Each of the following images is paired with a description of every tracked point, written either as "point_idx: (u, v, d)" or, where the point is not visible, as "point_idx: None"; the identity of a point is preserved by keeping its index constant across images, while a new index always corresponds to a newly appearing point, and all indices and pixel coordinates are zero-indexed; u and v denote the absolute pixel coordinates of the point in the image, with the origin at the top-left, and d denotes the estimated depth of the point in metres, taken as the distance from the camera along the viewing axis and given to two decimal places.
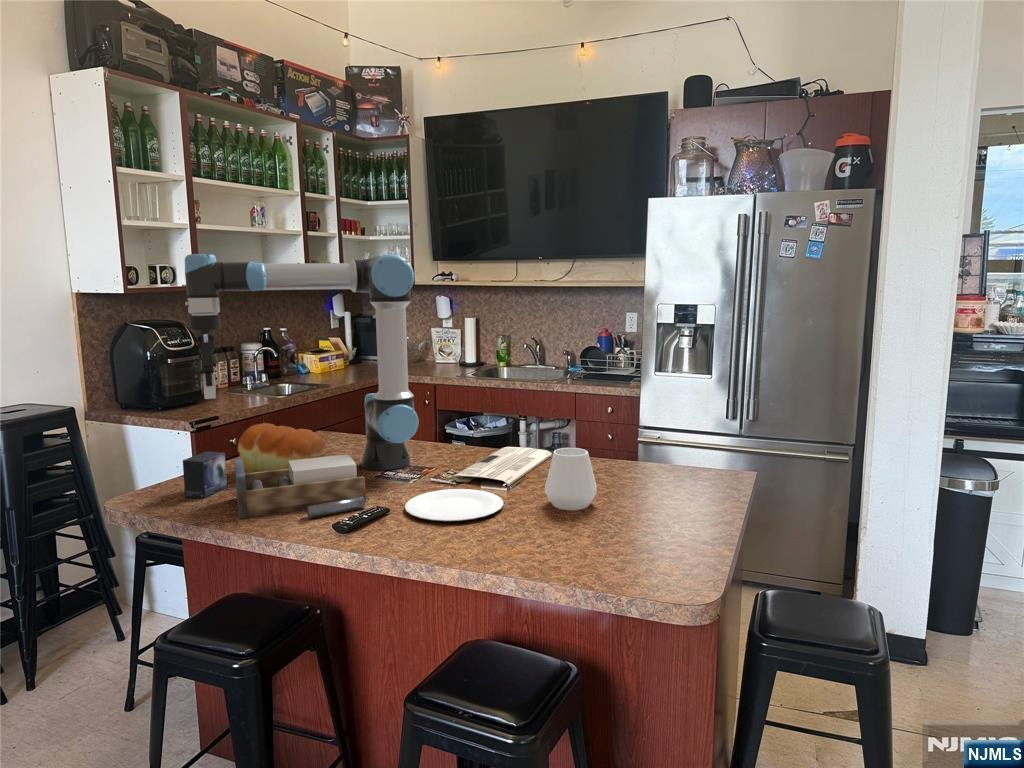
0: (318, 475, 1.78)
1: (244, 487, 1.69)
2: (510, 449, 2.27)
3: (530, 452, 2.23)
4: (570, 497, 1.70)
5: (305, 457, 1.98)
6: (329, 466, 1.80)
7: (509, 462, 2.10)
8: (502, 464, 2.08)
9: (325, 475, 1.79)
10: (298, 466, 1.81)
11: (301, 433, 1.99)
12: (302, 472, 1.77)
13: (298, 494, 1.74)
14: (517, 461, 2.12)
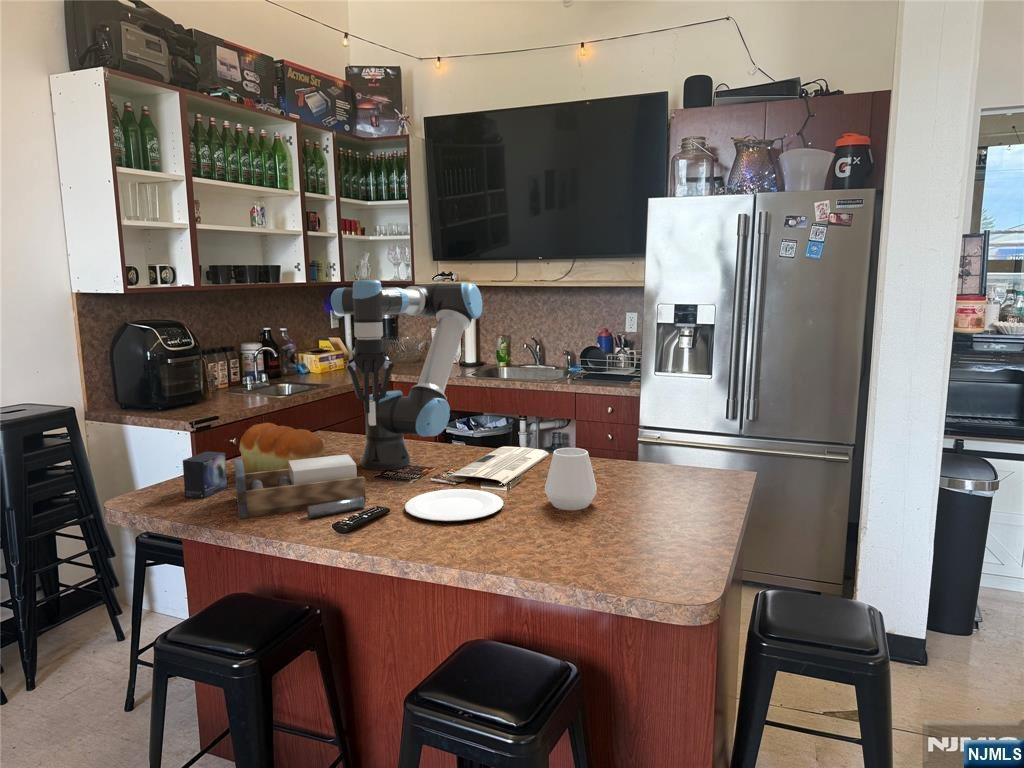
0: (318, 475, 1.78)
1: (244, 487, 1.69)
2: (507, 449, 2.28)
3: (527, 452, 2.23)
4: (570, 497, 1.70)
5: (303, 458, 1.97)
6: (329, 466, 1.80)
7: (505, 462, 2.11)
8: (498, 464, 2.08)
9: (325, 475, 1.79)
10: (298, 466, 1.81)
11: (299, 433, 1.98)
12: (302, 472, 1.77)
13: (298, 494, 1.74)
14: (513, 460, 2.13)
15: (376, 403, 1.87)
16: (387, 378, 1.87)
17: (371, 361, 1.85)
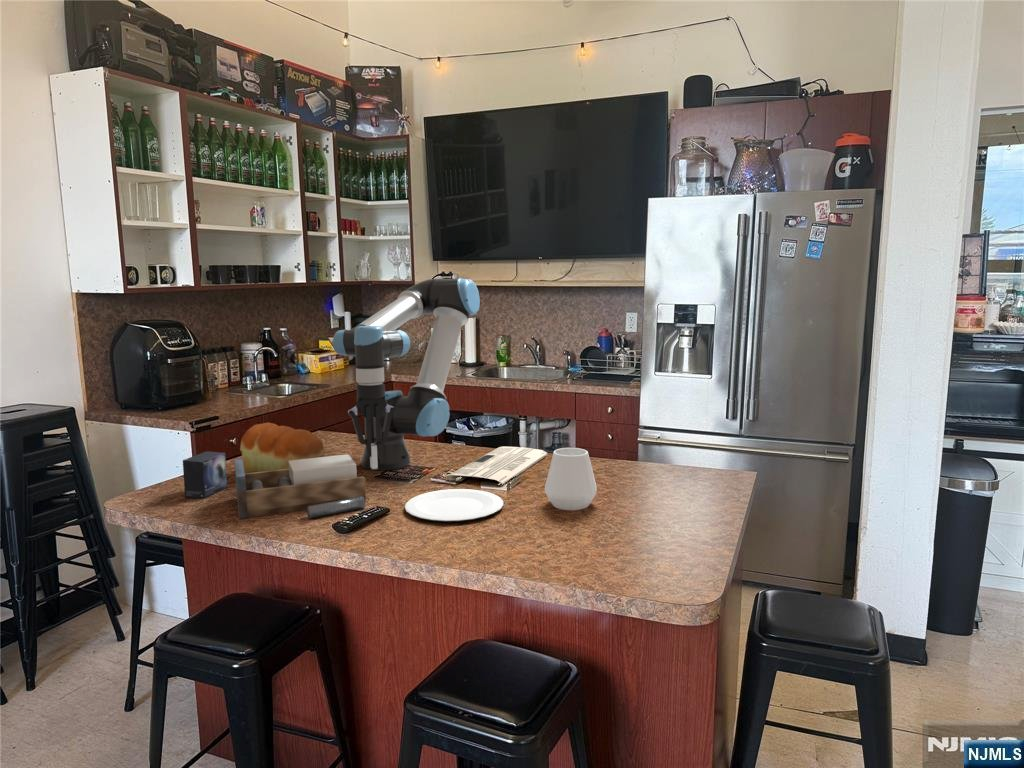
0: (318, 475, 1.78)
1: (244, 487, 1.69)
2: (506, 449, 2.28)
3: (525, 452, 2.23)
4: (570, 497, 1.70)
5: (301, 458, 1.97)
6: (329, 466, 1.80)
7: (504, 462, 2.11)
8: (497, 464, 2.09)
9: (325, 475, 1.79)
10: (298, 466, 1.81)
11: (298, 434, 1.98)
12: (302, 472, 1.77)
13: (298, 494, 1.74)
14: (512, 460, 2.13)
15: (378, 447, 1.89)
16: (389, 422, 1.89)
17: (373, 406, 1.87)
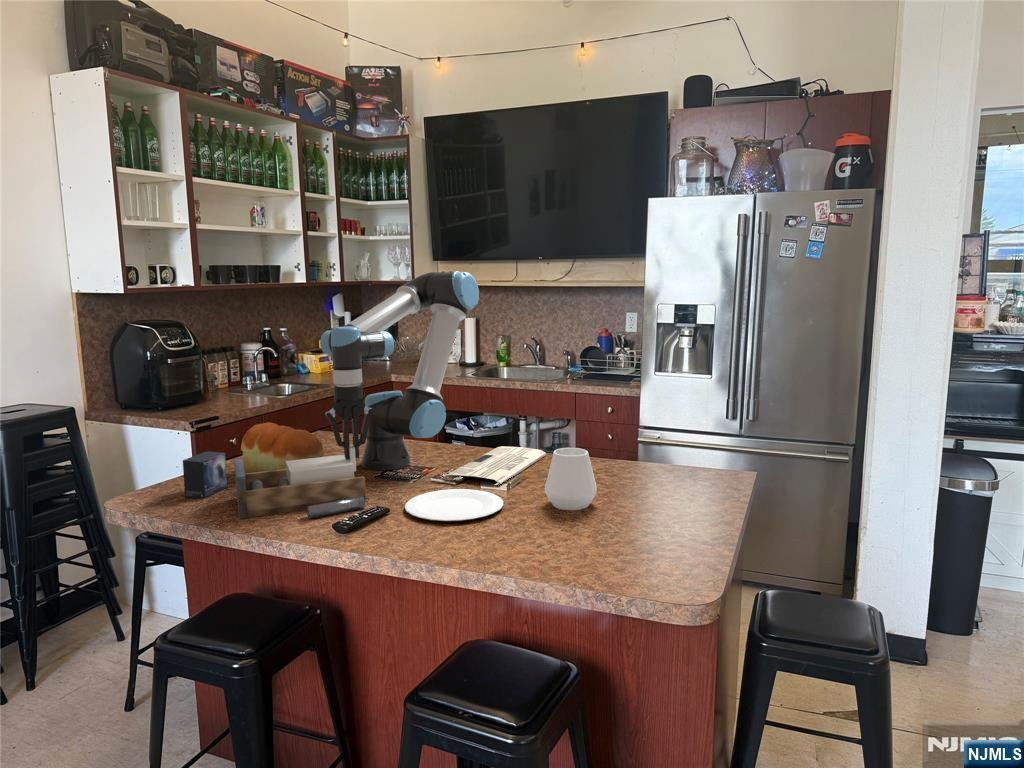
0: (315, 475, 1.78)
1: (244, 487, 1.69)
2: (504, 449, 2.28)
3: (524, 452, 2.24)
4: (570, 497, 1.70)
5: (300, 458, 1.97)
6: (326, 466, 1.80)
7: (502, 461, 2.11)
8: (495, 463, 2.09)
9: (322, 476, 1.79)
10: (295, 466, 1.80)
11: (297, 434, 1.98)
12: (299, 472, 1.76)
13: (298, 494, 1.74)
14: (510, 460, 2.13)
15: (356, 449, 1.87)
16: (367, 424, 1.87)
17: (351, 408, 1.84)
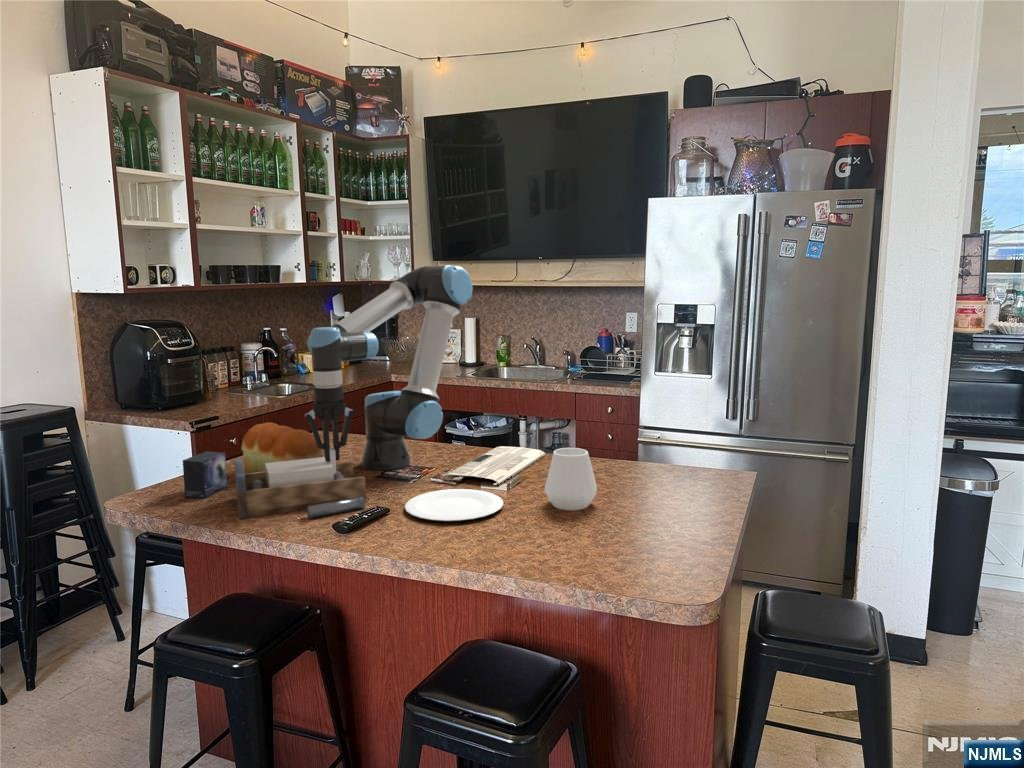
0: (294, 478, 1.76)
1: (244, 487, 1.69)
2: (503, 448, 2.28)
3: (523, 451, 2.24)
4: (570, 497, 1.70)
5: (299, 458, 1.97)
6: (306, 469, 1.78)
7: (501, 461, 2.11)
8: (494, 463, 2.09)
9: (302, 478, 1.77)
10: (274, 469, 1.78)
11: (296, 434, 1.98)
12: (278, 474, 1.74)
13: (298, 494, 1.74)
14: (509, 460, 2.13)
15: (336, 451, 1.85)
16: (347, 426, 1.85)
17: (331, 409, 1.82)
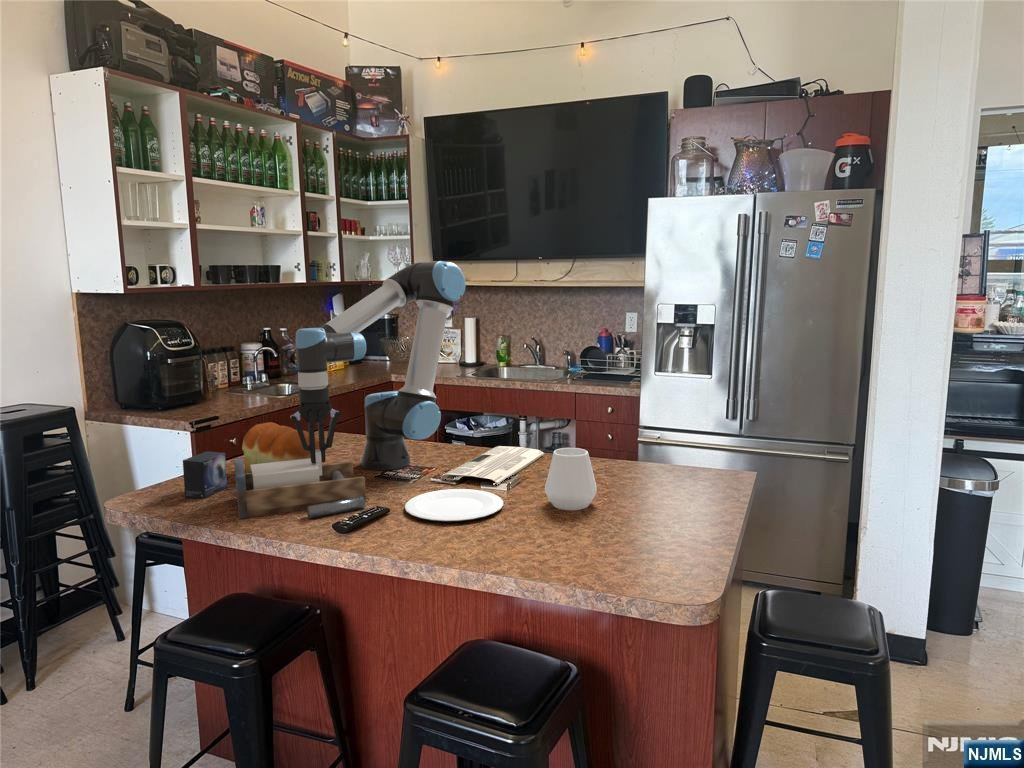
0: (279, 479, 1.75)
1: (244, 487, 1.69)
2: (502, 448, 2.28)
3: (522, 451, 2.24)
4: (570, 497, 1.70)
5: (299, 458, 1.97)
6: (291, 470, 1.76)
7: (500, 461, 2.11)
8: (493, 463, 2.09)
9: (286, 480, 1.75)
10: (259, 470, 1.77)
11: (296, 434, 1.97)
12: (262, 476, 1.73)
13: (298, 494, 1.74)
14: (508, 460, 2.13)
15: (322, 453, 1.83)
16: (333, 427, 1.83)
17: (316, 411, 1.81)
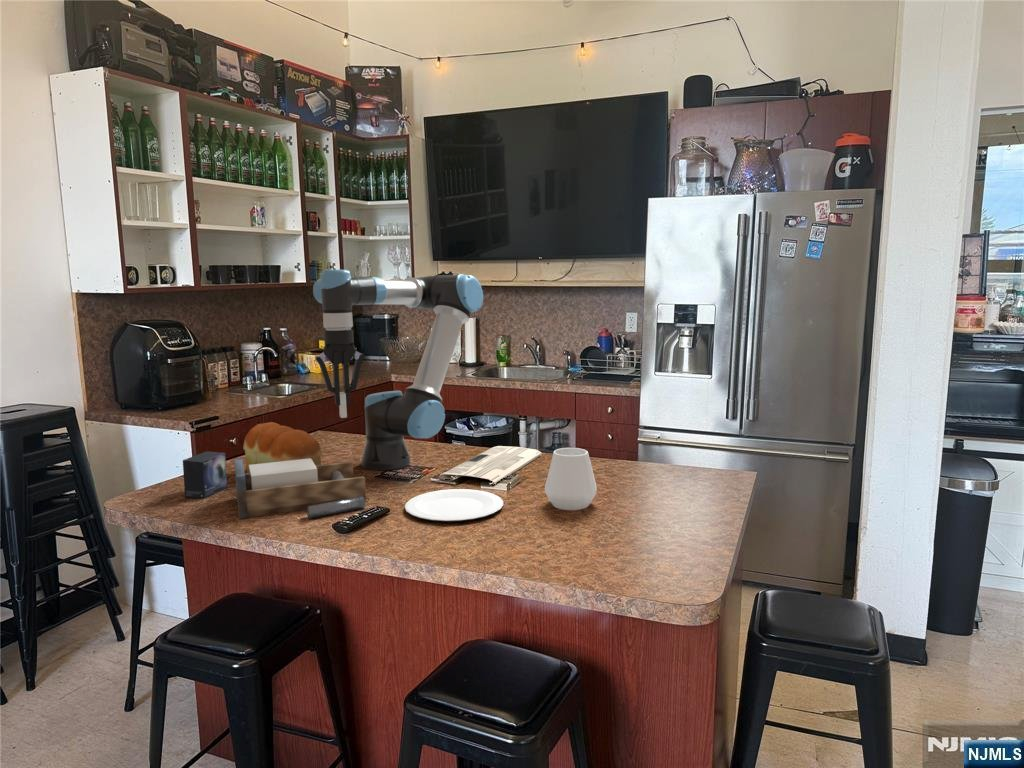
0: (277, 480, 1.75)
1: (244, 487, 1.69)
2: (500, 448, 2.29)
3: (520, 451, 2.24)
4: (570, 497, 1.70)
5: (297, 459, 1.96)
6: (289, 470, 1.76)
7: (497, 461, 2.12)
8: (490, 463, 2.09)
9: (285, 480, 1.75)
10: (257, 471, 1.77)
11: (294, 434, 1.97)
12: (261, 476, 1.73)
13: (298, 494, 1.74)
14: (505, 460, 2.13)
15: (347, 395, 1.84)
16: (358, 369, 1.84)
17: (341, 352, 1.82)
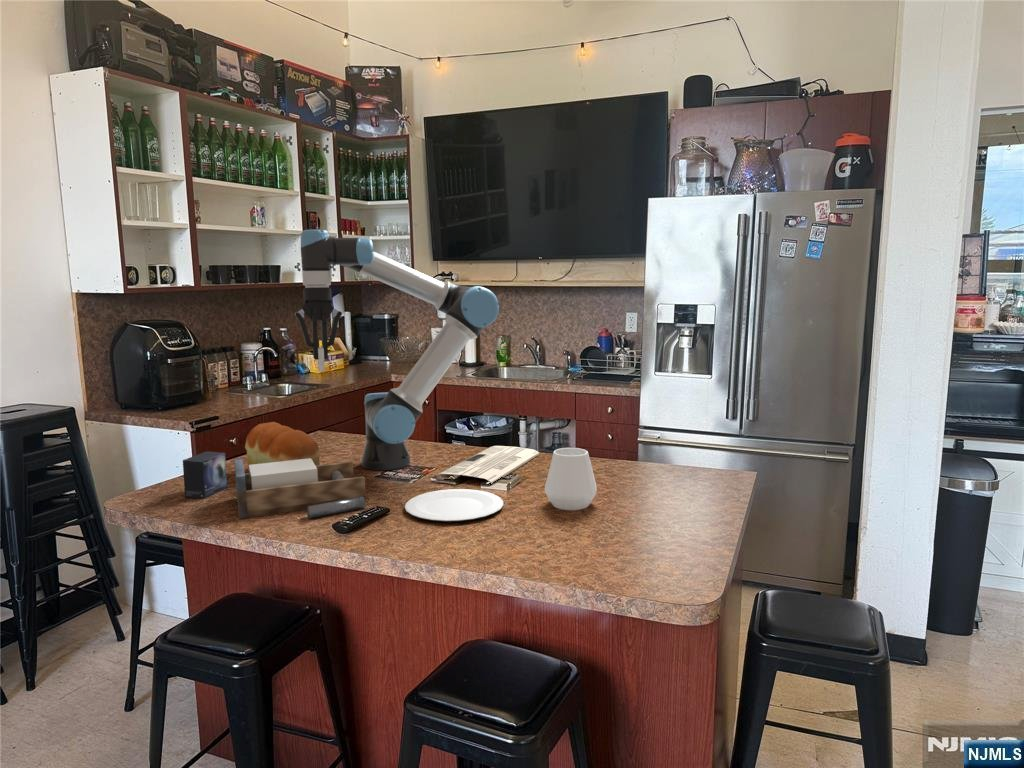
0: (277, 480, 1.75)
1: (244, 487, 1.69)
2: (498, 448, 2.29)
3: (517, 451, 2.24)
4: (570, 497, 1.70)
5: (294, 459, 1.96)
6: (289, 470, 1.76)
7: (495, 461, 2.12)
8: (487, 463, 2.10)
9: (285, 480, 1.75)
10: (257, 471, 1.77)
11: (292, 434, 1.97)
12: (261, 476, 1.73)
13: (298, 494, 1.74)
14: (503, 460, 2.14)
15: (325, 350, 1.94)
16: (335, 326, 1.94)
17: (319, 309, 1.91)
